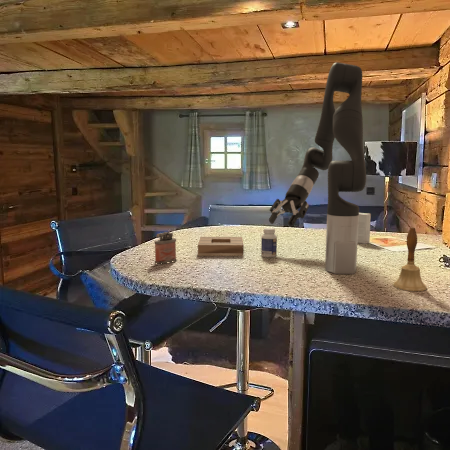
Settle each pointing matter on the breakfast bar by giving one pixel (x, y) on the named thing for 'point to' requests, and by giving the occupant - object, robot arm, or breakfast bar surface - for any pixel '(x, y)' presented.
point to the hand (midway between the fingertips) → (280, 223)
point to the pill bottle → (269, 243)
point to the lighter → (165, 248)
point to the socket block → (220, 246)
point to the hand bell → (410, 268)
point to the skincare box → (364, 228)
